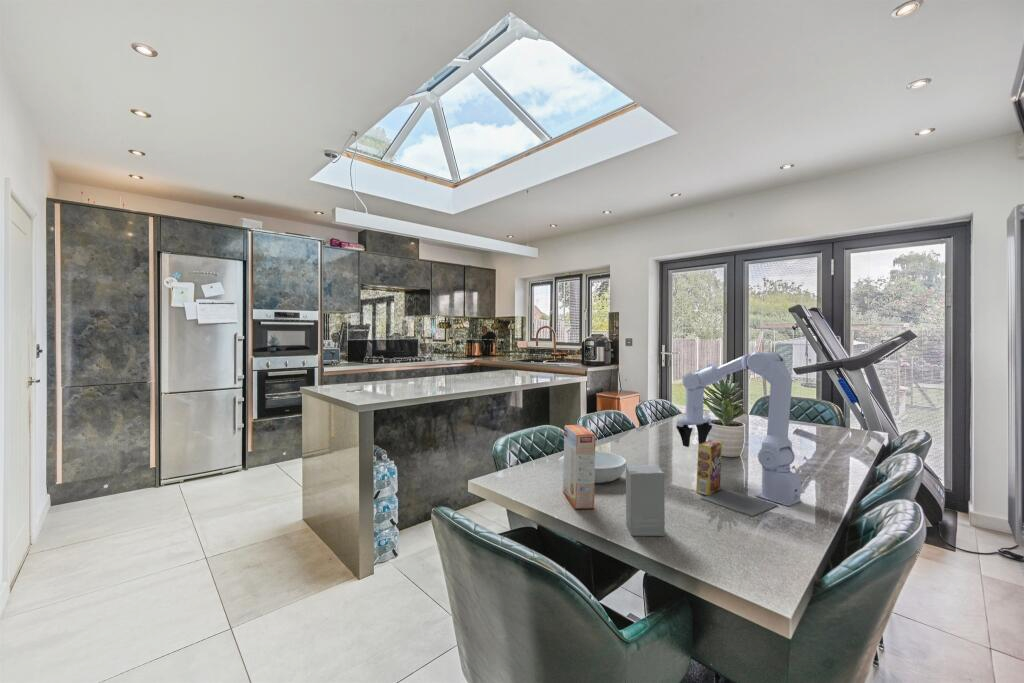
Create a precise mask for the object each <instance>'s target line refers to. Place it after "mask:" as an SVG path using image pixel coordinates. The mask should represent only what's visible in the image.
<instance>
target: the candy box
mask: <svg viewBox="0 0 1024 683" xmlns="http://www.w3.org/2000/svg"><path fill="white" fill-rule="evenodd" d="M697 445H698V448H697V468H696V469H697V470H696V493H697V494H699V495H700V494H701V495H704V496H709V495H712V494H715V493H717V492H719V491H720V490H721V475H722V450H723V449H722V448H723V442H721V441H718V440H711V439H710V440H707V441H706V442H704V443H701V444H699V443H698V444H697Z"/></svg>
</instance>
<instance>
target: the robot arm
mask: <svg viewBox="0 0 1024 683" xmlns="http://www.w3.org/2000/svg"><path fill="white" fill-rule="evenodd" d="M741 370H749V371H751V372H753V373H754V374H756V375H759V376H760V377H762V378H763V379H764V380H765V381H767V382H768V383H769V384H770V385H769V386H770V387H769V388H770V389H769V400H768V401H769V403H768V413H767V414H768V415H767V416H768V418H767V428H766V429H767V430H766V432H767V433H766V436H765V438H764V439H763V441H762V442H761V447H760V449H759V451H758V454H757V460H758V462H759V464H760V465H761V492H758V493H756V494H755V497H756V498H757V497H758V498H761V499H764V500H768V501H769V502H770V501H771V502H773V503H778V504H781V505H784V506H786V507H790V506H793V505H795V504H797V503H799V502H802V499H801V485H802V483H801V482H802V481H801V476H800V475H799V474H798V473H796V472H793V471H791V465H792V464H793V463H794V461H795V458H796V457H795V452H794V451H793V442H792V441H791V440H790V438H789V425H790V414H791V412H790V411H791V402H792V401H791V400H792V399H791V398H792V386H793V379H792V376H791V375H792V374H790V372H789V368H787V365H786V359H785V358H784V357H782V356H781V355H780V354H779V353H778V352H775V351H767V352H766V351H765V352H761V351H754V352H752V353H748V354H744V355H742V356H739V357H737V358H736V359H735V358H734V359H733V360H731V361H729V362H727V363H724V364H722V365H717V364H708V365H706V367H705V368H703V369H696V370H695V372H693V373H692V372H688V373H686V374H685V375H684V376H683V378H682V385H683V387H684V388H685V417H684V418H682V419H677V420H676V425H675V427H676V429H677V432H678V433H679V435H680V437H681V442H682V446H683V447H686V448H689V447H690V443H691V442H690V441H691V434H692V432H693V428H692V427H689V426H695V427H696V430H697V436H698V437H697V439H698V444H701V443H704V442H706V440H707V439H708V435H709V433H710V432H711V430H712V429H713V425H711V424H712V417H711V418H710V417H704V393H705V388H706V387H707V386H710V385H713V384H717V383H718V382H721V381H723V379H724V377H725V376H727V375H729V374H733V373H735V372H738V371H741Z"/></svg>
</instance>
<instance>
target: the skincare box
mask: <svg viewBox="0 0 1024 683" xmlns="http://www.w3.org/2000/svg"><path fill="white" fill-rule="evenodd" d="M665 475H666V474H665V472H664V471H663V469H661V468H660V466H659V465H658V464H639V465H638V464H626V467H625V520H626V522H625V524H626V527H627V530H628V531H629V533H630V536H632V537H634V536H635V537H647V536H648V537H665V532H666V529H665V525H666V524H665V520H666V519H665V516H666V515H665V508H666V507H665Z"/></svg>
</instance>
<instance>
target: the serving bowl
mask: <svg viewBox="0 0 1024 683" xmlns="http://www.w3.org/2000/svg"><path fill="white" fill-rule="evenodd" d="M562 458H563V459H562V460H563V462H564V456H563V457H562ZM626 465H627V460H626V458H624V457H623V456H621V455H619V454H615V453H612V452H609V451H608V452H607V451H601V450H600V451H599V450H595V481H594V484H601V483H609V482H611V481H612V482H613V481H615V480H617V479H619V478H620V477H621V476H623V474H624V472H625V471H626Z"/></svg>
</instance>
